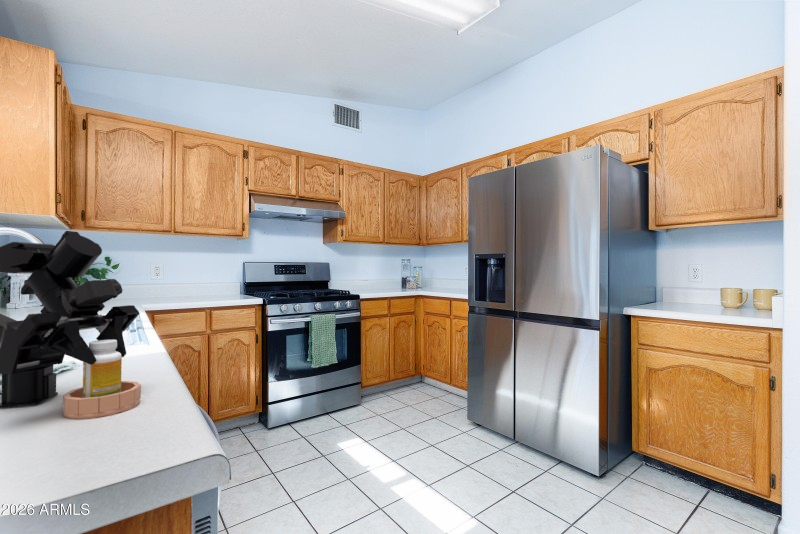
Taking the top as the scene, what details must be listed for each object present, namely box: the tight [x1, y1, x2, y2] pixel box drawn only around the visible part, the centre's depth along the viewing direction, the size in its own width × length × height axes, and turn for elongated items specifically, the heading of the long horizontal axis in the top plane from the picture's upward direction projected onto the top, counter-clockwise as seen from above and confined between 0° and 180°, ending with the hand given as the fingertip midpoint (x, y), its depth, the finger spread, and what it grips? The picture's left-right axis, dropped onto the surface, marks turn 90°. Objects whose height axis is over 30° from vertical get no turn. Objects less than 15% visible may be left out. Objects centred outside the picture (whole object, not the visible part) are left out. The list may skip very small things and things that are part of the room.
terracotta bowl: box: [62, 380, 142, 420], centre depth 68 cm, size 11×11×3 cm
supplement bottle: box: [82, 339, 123, 398], centre depth 68 cm, size 5×5×10 cm
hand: (109, 359), depth 68 cm, fingers closed on supplement bottle, 5 cm apart
